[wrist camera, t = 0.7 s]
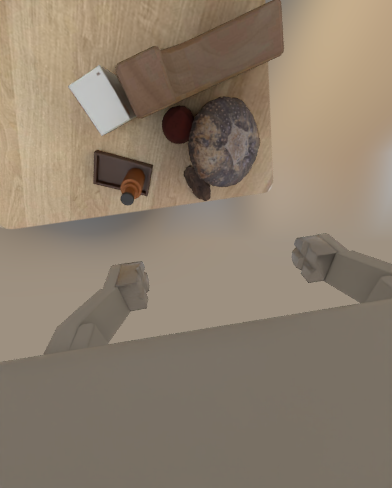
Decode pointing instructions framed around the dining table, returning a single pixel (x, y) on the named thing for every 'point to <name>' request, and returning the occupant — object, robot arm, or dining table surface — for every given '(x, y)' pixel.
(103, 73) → the small box
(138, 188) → the tray bottle
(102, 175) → the tray
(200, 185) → the stone
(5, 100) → the dining table surface
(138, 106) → the decorative block
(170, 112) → the potato
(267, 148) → the dining table surface
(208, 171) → the sea urchin shell
